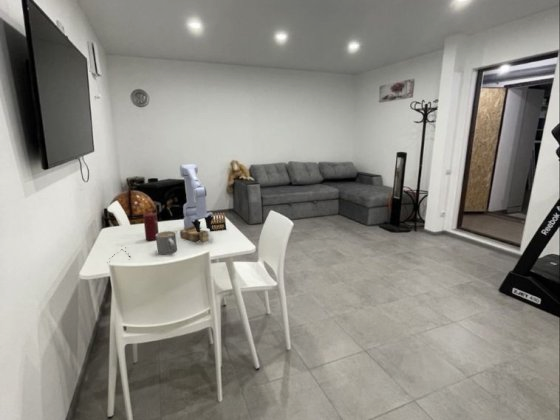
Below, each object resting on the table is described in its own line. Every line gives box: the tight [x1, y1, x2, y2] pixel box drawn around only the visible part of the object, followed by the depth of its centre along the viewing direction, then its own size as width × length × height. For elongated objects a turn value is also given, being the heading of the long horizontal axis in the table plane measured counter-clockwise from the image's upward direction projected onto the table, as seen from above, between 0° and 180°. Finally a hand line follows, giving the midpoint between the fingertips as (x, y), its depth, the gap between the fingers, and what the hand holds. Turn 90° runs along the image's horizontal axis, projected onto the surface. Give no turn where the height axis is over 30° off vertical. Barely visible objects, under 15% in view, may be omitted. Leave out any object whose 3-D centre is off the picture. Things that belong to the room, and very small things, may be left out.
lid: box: [179, 226, 206, 236], centre depth 180 cm, size 15×8×3 cm, turn 56°
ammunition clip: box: [209, 212, 227, 233], centre depth 195 cm, size 11×2×12 cm, turn 108°
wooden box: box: [179, 231, 200, 243], centre depth 182 cm, size 14×8×4 cm, turn 56°
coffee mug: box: [155, 230, 178, 256], centre depth 160 cm, size 13×10×10 cm
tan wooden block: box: [199, 230, 209, 244], centre depth 176 cm, size 4×4×6 cm
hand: (203, 230), depth 175 cm, fingers open, 7 cm apart
